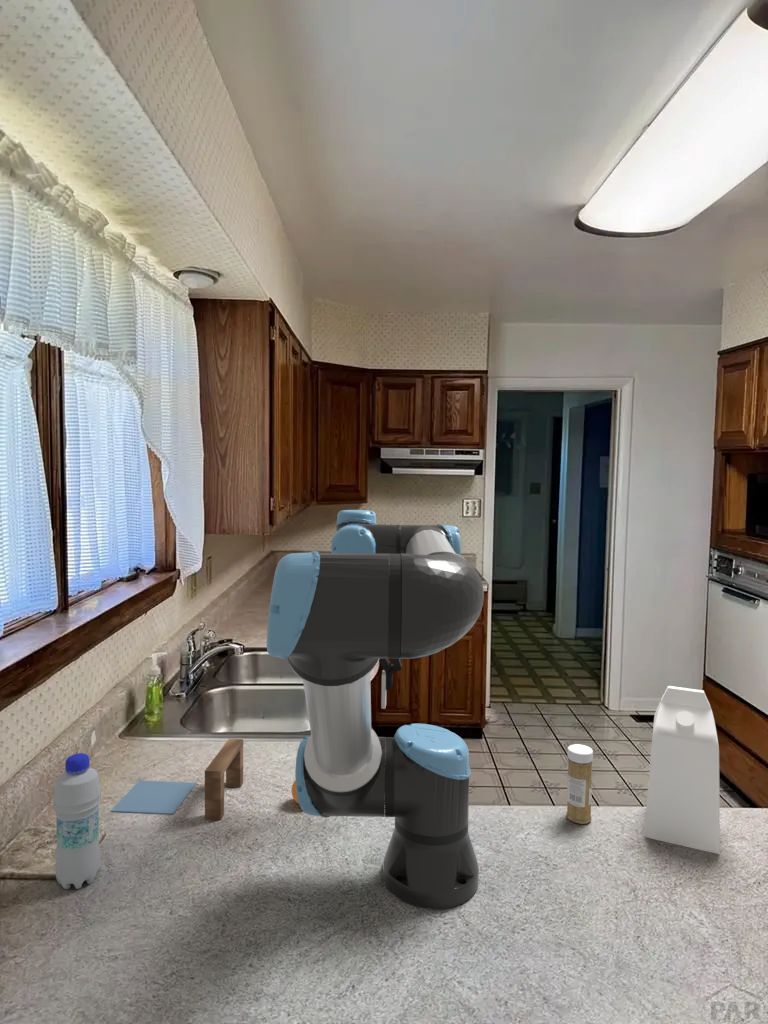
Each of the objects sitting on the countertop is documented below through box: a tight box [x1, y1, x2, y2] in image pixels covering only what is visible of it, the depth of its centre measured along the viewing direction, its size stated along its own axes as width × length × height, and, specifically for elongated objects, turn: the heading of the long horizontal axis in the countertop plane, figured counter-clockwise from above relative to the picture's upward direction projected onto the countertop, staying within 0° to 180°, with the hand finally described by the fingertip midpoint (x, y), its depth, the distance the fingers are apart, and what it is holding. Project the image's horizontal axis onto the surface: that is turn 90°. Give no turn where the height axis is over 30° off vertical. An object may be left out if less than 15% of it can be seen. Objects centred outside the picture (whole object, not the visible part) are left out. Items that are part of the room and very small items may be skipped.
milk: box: [643, 685, 721, 855], centre depth 114 cm, size 12×12×26 cm
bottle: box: [52, 752, 102, 890], centre depth 98 cm, size 7×7×20 cm
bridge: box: [204, 738, 244, 821], centre depth 123 cm, size 3×14×9 cm, turn 176°
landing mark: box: [110, 779, 197, 815], centre depth 124 cm, size 12×12×1 cm
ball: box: [291, 780, 300, 805], centre depth 122 cm, size 6×6×6 cm
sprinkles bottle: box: [566, 743, 594, 825], centre depth 118 cm, size 5×5×13 cm
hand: (354, 705), depth 120 cm, fingers open, 10 cm apart
